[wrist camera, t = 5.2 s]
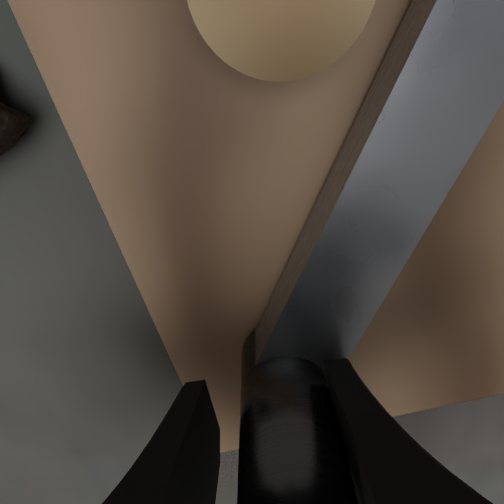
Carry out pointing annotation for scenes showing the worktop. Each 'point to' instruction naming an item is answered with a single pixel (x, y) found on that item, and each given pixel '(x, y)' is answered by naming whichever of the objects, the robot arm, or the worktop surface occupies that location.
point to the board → (261, 198)
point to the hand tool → (11, 126)
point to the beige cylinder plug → (280, 33)
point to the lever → (363, 243)
